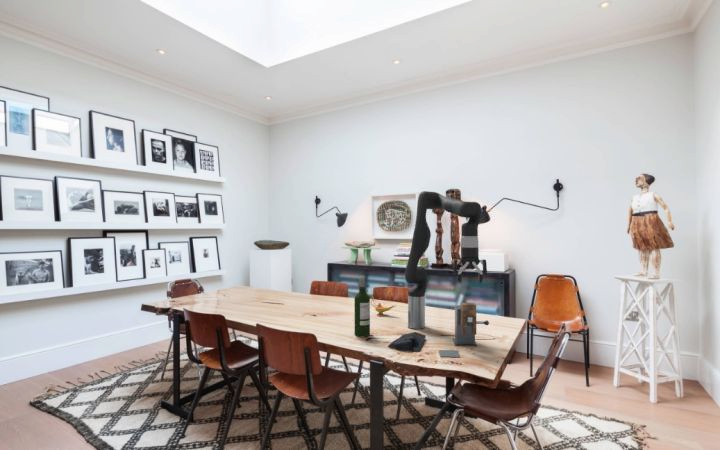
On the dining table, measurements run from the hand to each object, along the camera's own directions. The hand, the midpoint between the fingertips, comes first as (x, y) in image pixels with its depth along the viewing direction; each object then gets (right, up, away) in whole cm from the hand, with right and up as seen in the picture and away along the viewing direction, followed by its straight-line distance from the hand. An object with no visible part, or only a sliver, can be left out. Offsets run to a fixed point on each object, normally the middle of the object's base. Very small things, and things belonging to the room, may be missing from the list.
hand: (469, 282), depth 164 cm
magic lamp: (-35, -31, +65) cm, 80 cm away
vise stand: (+3, -30, +4) cm, 31 cm away
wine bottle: (-48, -31, +25) cm, 62 cm away
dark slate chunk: (-26, -31, +10) cm, 42 cm away
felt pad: (-10, -30, -4) cm, 32 cm away
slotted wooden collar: (-1, -22, -1) cm, 22 cm away
